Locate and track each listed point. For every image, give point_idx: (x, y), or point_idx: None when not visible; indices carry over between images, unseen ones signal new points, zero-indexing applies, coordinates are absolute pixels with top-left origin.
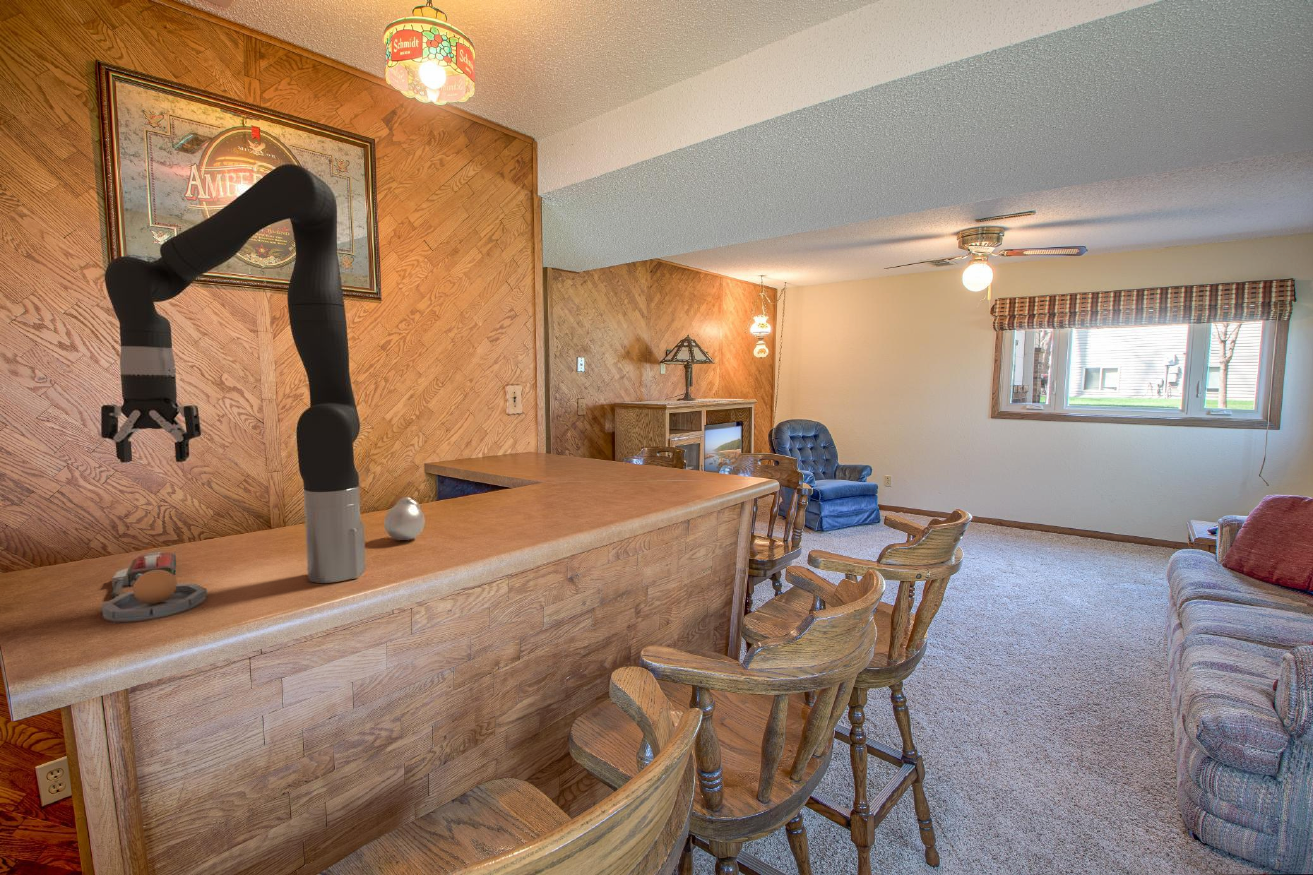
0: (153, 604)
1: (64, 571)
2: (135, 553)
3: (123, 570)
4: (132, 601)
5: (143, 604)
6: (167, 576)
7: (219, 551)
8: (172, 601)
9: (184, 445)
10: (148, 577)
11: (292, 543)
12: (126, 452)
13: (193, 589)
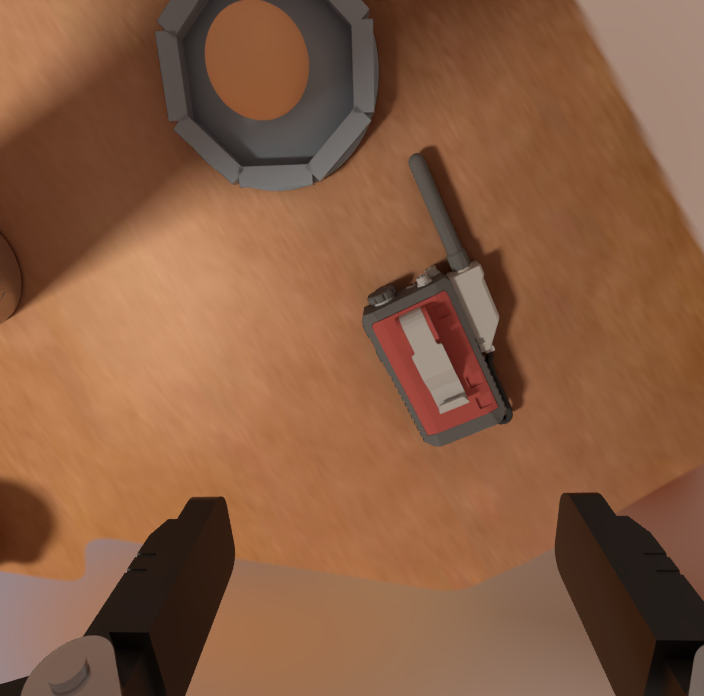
0: None
1: (668, 418)
2: None
3: (487, 329)
4: (340, 98)
5: None
6: (207, 45)
7: (375, 518)
8: None
9: (98, 613)
10: (241, 10)
11: None
12: (594, 572)
13: (210, 137)
